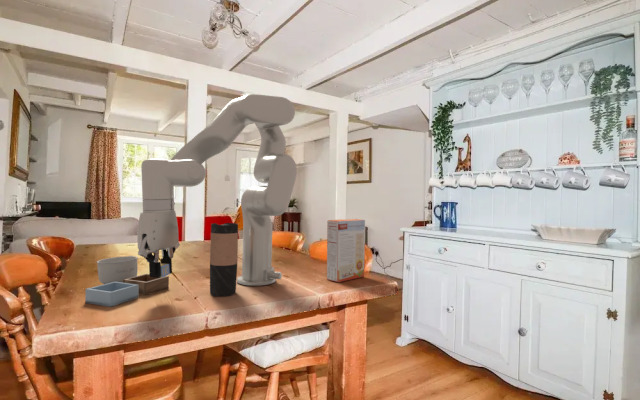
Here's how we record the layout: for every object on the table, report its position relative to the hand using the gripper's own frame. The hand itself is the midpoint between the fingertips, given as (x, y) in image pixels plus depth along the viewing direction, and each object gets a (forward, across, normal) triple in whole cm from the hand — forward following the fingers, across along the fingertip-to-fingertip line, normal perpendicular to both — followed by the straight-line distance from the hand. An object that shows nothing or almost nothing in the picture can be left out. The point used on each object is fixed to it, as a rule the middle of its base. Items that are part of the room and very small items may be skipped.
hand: (160, 274), depth 90 cm
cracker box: (+10, -44, +39) cm, 60 cm away
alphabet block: (+1, 0, 0) cm, 1 cm away
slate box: (+6, +6, -11) cm, 14 cm away
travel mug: (+8, -11, +11) cm, 18 cm away
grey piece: (+7, -8, -24) cm, 26 cm away
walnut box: (+7, -5, -11) cm, 14 cm away
